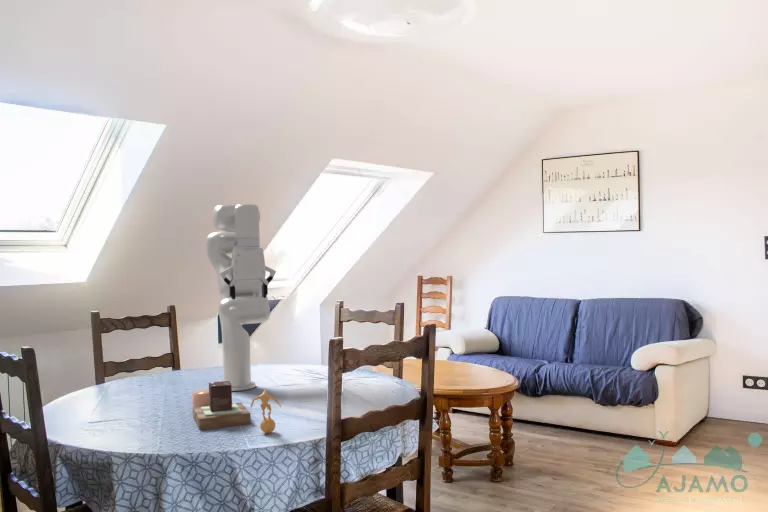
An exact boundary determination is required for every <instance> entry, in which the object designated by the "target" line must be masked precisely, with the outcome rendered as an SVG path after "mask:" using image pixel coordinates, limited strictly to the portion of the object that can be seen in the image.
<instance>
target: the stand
mask: <svg viewBox="0 0 768 512" xmlns="http://www.w3.org/2000/svg"><path fill="white" fill-rule="evenodd" d="M192 417H193V420H194V422H195V424H196V426H197V428H198V430H199V431H202V430H209V429H219V428H229V427H236V426H245V425H250V424H251V423H252V421H251V419H252V418H251V412H250V411H249V409H247V407H246V406H245V405H244V404H243V402H241V401H240V402H232V410H224V411H214V412H211V410H210V407H209V406H203V407H194V408H193V410H192Z"/></svg>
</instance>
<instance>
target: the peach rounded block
mask: <svg viewBox="0 0 768 512" xmlns="http://www.w3.org/2000/svg"><path fill="white" fill-rule="evenodd" d="M191 398H192V399H191V400H192V401H191V403H192V409H191V410H192V411H193V408H194V407H203V406H209V388H208V389H199V390H194V391H192V393H191Z"/></svg>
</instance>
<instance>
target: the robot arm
mask: <svg viewBox="0 0 768 512" xmlns="http://www.w3.org/2000/svg"><path fill="white" fill-rule="evenodd" d="M260 221H261V213H260V209H259V206H258V205H256V204H253V203H252V204H250V203H247V204H243V203H242V204H219V205H216V206H214V209H213V212H212V223H213V225H214V228H215V229H216V230H221V231H214V232H211V233H209V235H207V237H206V240H205V248H206V253H207V257H208V260H209V262H210V263H211V265H212V268H213V269H214V271H215V275H216V280H217V287H218V292H219V295H220V297H221V298H222V300H221V301H220V302H219V303H218V316H219V323H220V329H221V344H222V345H221V347H222V348H221V353H222V354H221V357H222V381H230V383H231V385H232V392H241V391H247V390H251V389H254V388H256V382H255V381H253V380H252V375H251V374H252V373H251V339H250V334H249V332H248V331H247V330H246V329H245V328H244V327H243V325H249V324H250V325H251V324H260V323H261V324H263V323H266V322H267V321H268V320H269V318H270V316H271V308H270V304H269V302H270V301H269V299H268V298H269V297H268V295H269V294H268V293H269V292H268V289H269V288H268V285H269V284H270V283H271V281H272V280H273V279H274V277H275V275H276V272H277V271H276V270H275V269H274V268H271V267H268V266H266V261H265V254H264V249H263V247H261V242H260ZM229 255H231V256H229ZM266 273H269V274H268V277H267V278H266V276H267V275H266Z"/></svg>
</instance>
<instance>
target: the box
mask: <svg viewBox="0 0 768 512" xmlns="http://www.w3.org/2000/svg"><path fill="white" fill-rule="evenodd" d="M208 389H209V407H210V410H211V412H214V411H224V410H232V403H233V395H232V394H233V391H232V385H231V383H230V381H223V380H221V381H212V382H208Z"/></svg>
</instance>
